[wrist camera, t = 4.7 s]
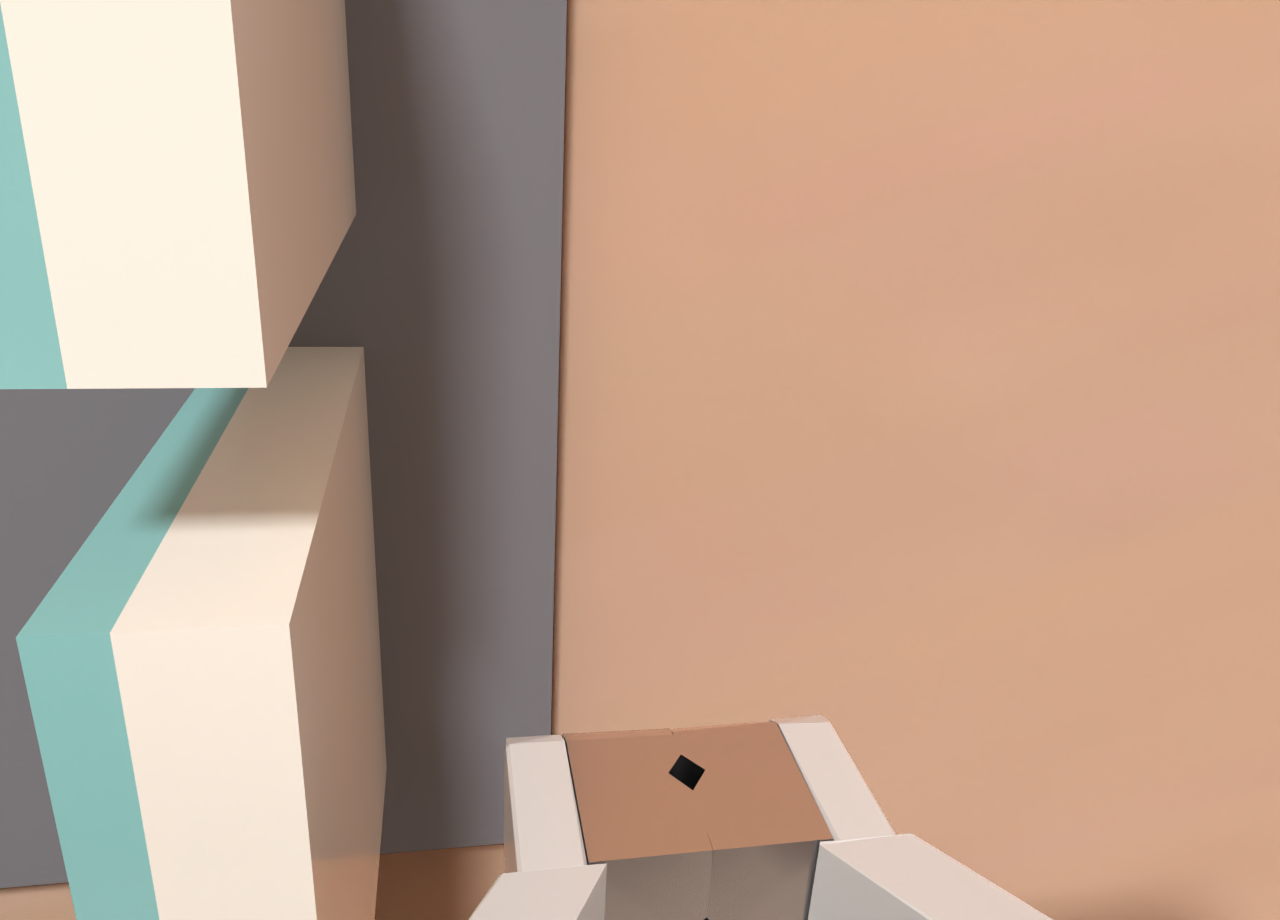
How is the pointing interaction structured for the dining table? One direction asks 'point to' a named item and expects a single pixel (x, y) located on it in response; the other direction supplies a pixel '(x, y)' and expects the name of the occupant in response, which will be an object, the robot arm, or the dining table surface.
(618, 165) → the dining table surface
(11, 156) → the tile
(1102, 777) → the dining table surface
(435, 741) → the mat
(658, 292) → the dining table surface
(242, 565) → the tile
